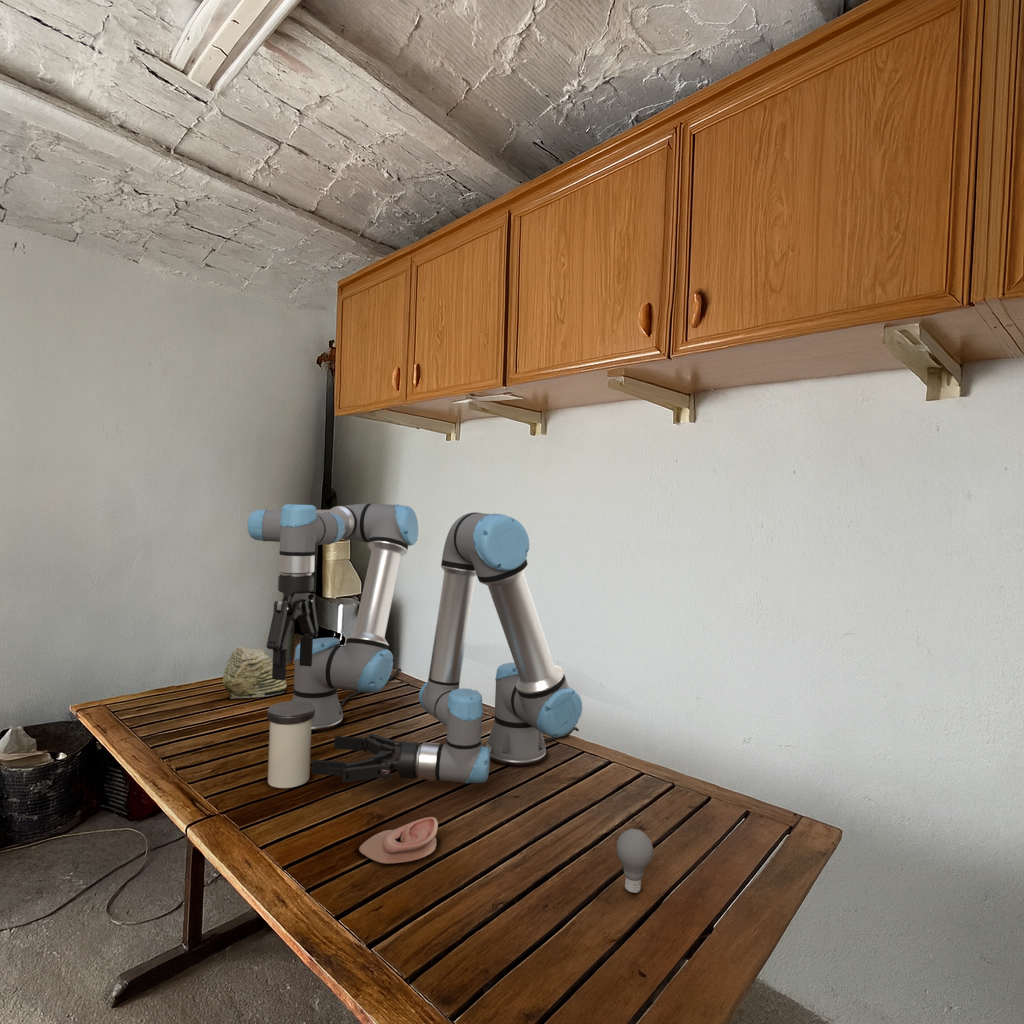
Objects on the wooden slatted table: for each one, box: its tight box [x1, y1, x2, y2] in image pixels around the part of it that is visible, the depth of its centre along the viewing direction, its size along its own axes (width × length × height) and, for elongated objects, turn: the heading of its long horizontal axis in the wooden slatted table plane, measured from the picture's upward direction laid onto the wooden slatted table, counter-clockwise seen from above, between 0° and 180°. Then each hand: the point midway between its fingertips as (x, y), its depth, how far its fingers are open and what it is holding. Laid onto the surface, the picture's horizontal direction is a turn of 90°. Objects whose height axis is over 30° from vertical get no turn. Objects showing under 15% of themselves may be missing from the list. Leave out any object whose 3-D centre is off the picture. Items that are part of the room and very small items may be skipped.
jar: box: [266, 719, 312, 789], centre depth 141 cm, size 9×9×16 cm
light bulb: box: [615, 828, 654, 894], centre depth 106 cm, size 6×6×10 cm
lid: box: [266, 700, 315, 724], centre depth 141 cm, size 10×10×2 cm
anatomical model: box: [358, 816, 439, 864], centre depth 116 cm, size 13×4×12 cm
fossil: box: [222, 646, 288, 699], centre depth 198 cm, size 9×18×15 cm, turn 132°
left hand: (292, 672), depth 141 cm, fingers open, 11 cm apart
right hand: (324, 753), depth 140 cm, fingers open, 13 cm apart
